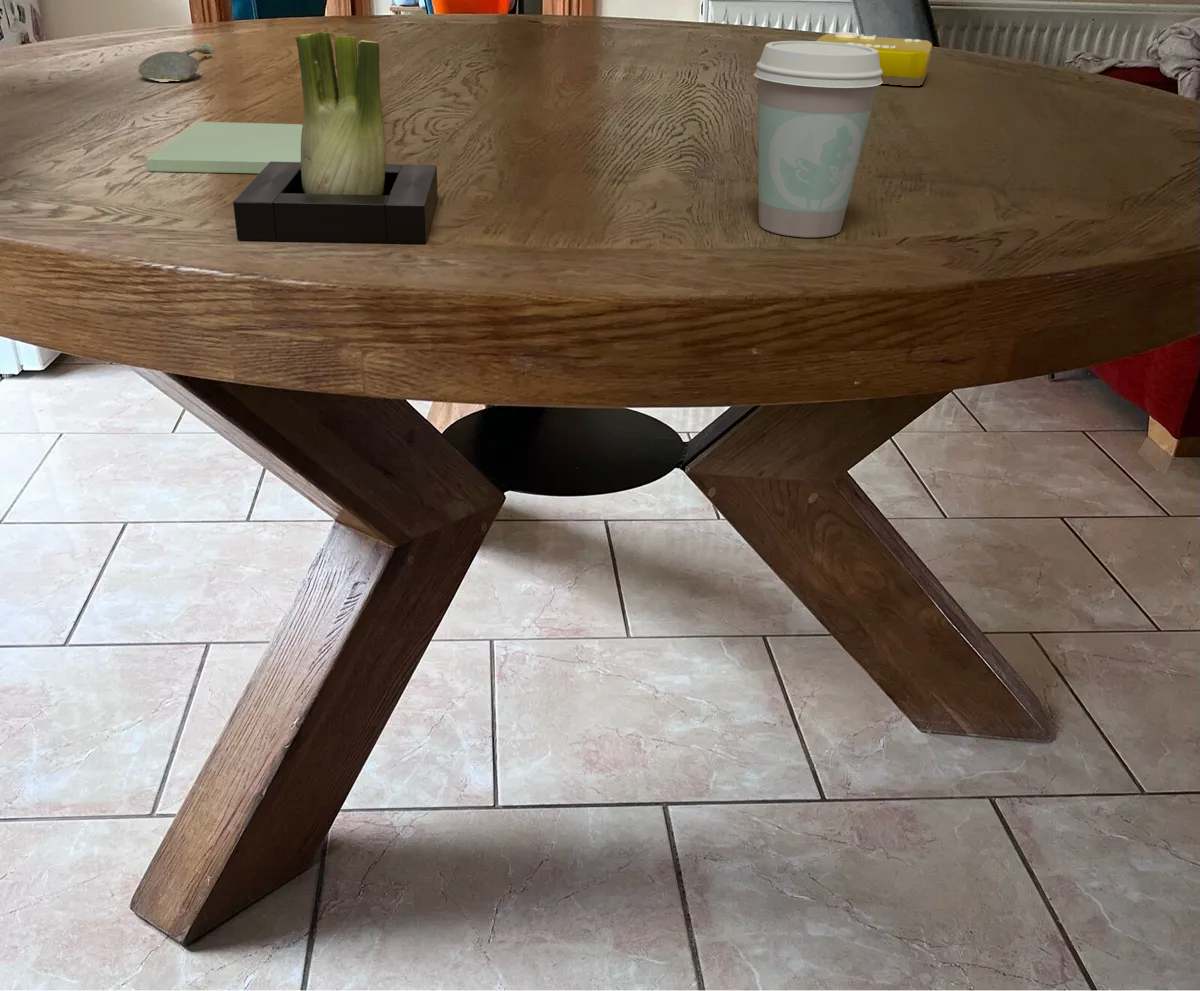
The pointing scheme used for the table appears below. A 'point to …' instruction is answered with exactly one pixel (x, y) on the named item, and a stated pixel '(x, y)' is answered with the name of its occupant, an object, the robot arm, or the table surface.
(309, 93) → the fennel bulb
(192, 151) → the board
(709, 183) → the table surface
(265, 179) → the frame
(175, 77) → the soupspoon
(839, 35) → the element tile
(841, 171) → the coffee cup
